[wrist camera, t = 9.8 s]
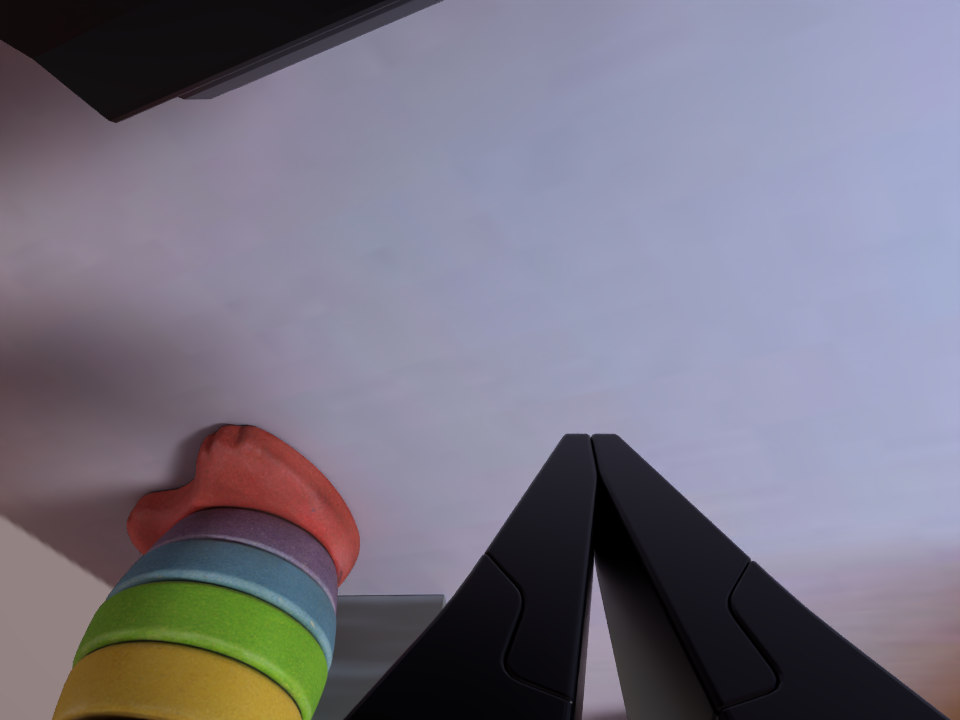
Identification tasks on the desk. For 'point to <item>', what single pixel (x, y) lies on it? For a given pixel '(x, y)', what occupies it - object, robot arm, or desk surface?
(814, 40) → the desk surface
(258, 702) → the stacking bear
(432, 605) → the book row
